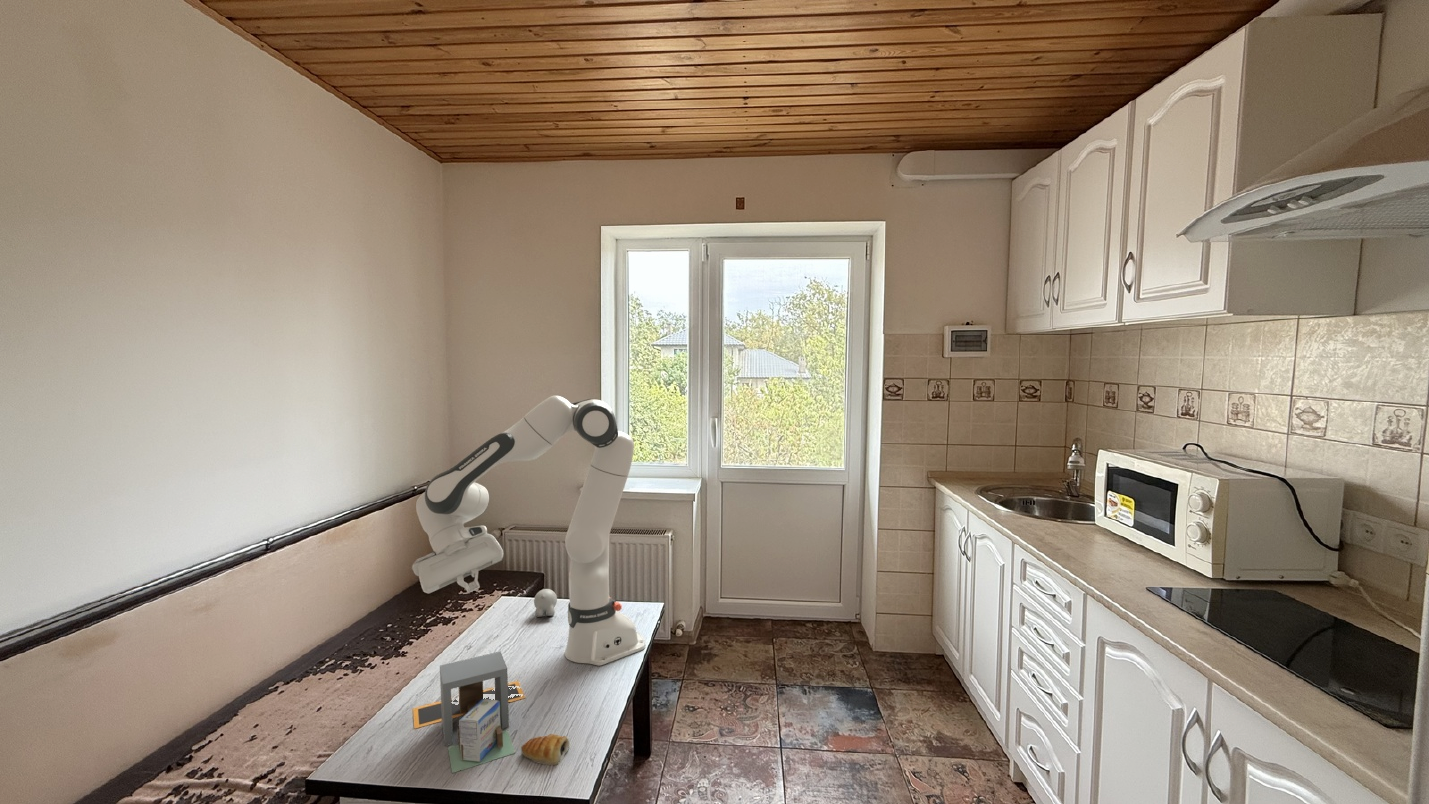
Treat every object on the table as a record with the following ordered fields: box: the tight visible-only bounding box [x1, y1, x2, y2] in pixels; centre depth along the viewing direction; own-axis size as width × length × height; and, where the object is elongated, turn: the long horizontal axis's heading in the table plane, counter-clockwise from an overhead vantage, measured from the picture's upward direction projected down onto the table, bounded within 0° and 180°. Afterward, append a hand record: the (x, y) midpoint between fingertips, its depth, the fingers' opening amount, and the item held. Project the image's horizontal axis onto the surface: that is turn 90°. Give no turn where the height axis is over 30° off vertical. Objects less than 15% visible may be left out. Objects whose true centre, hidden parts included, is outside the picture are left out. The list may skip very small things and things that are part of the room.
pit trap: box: [412, 680, 526, 730], centre depth 138 cm, size 24×9×1 cm, turn 119°
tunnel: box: [439, 651, 510, 747], centre depth 129 cm, size 13×9×14 cm
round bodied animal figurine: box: [533, 588, 558, 618], centre depth 190 cm, size 7×12×8 cm, turn 10°
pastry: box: [521, 733, 570, 766], centre depth 119 cm, size 9×7×4 cm
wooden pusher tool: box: [457, 681, 503, 759], centre depth 128 cm, size 8×20×11 cm, turn 29°
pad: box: [447, 729, 516, 774], centre depth 121 cm, size 12×9×1 cm
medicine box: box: [458, 699, 501, 762], centre depth 121 cm, size 8×4×9 cm, turn 168°
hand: (474, 589), depth 145 cm, fingers closed
